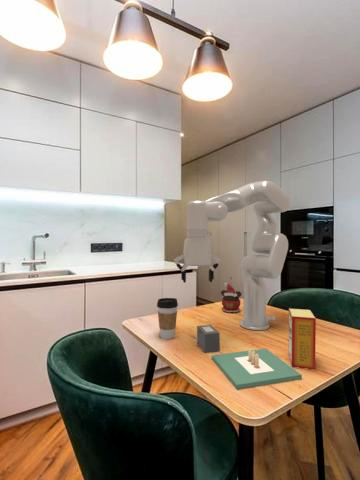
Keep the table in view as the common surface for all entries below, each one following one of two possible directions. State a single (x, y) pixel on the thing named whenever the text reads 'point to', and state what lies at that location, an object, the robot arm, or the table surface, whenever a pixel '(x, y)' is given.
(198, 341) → the block
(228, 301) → the red christmas figurine
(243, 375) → the pin board
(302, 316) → the baking soda box
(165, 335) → the coffee cup
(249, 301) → the robot arm
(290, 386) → the table surface
